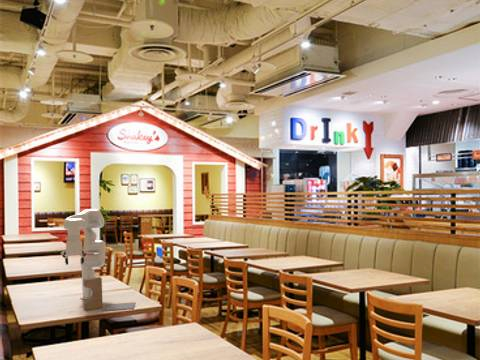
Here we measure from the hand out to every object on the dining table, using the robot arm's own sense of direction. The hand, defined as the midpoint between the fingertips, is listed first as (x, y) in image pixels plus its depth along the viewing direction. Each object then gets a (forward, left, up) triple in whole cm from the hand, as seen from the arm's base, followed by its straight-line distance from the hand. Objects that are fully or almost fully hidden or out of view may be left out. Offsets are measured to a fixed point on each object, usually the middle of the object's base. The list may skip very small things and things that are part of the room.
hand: (74, 264), depth 311 cm
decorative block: (0, +11, -31) cm, 33 cm away
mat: (+2, +28, -30) cm, 41 cm away
